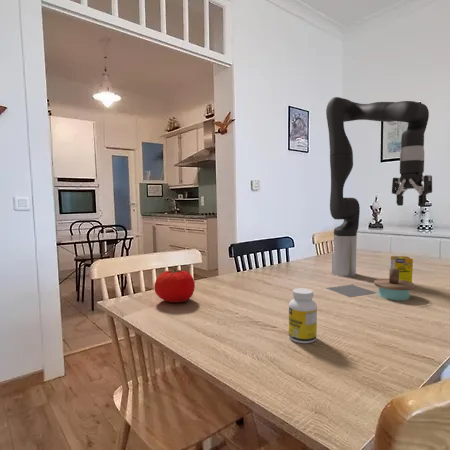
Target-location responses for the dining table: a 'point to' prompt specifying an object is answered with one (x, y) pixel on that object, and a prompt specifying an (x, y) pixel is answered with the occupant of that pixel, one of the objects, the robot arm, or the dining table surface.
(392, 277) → the lid
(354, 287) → the mat
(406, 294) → the bowl
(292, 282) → the dining table surface
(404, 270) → the supplement box
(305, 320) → the pill bottle
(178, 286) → the tomato
